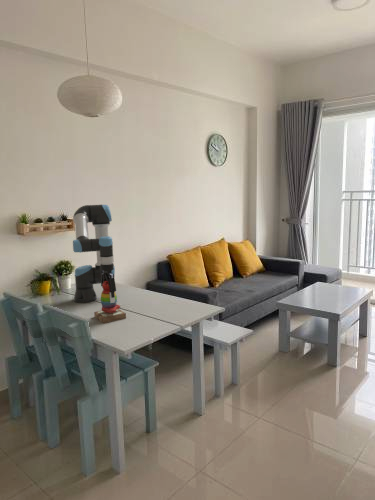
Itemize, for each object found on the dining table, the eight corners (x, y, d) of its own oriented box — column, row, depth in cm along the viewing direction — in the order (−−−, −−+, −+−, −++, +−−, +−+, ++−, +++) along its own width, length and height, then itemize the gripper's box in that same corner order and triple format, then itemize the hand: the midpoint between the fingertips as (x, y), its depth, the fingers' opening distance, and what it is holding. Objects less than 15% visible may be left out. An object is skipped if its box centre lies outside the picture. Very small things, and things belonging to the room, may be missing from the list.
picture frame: (94, 316, 230) (94, 311, 229) (116, 312, 237) (116, 307, 237) (103, 323, 218) (103, 318, 218) (126, 318, 226) (125, 313, 225)
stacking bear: (114, 313, 221) (112, 283, 218) (98, 312, 223) (96, 282, 220) (121, 307, 231) (119, 278, 228) (105, 306, 233) (103, 278, 230)
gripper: (93, 261, 229) (96, 297, 233) (108, 267, 211) (110, 306, 215) (105, 259, 233) (107, 295, 237) (121, 265, 215) (123, 303, 219)
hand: (109, 300), depth 226 cm, fingers closed on stacking bear, 9 cm apart
